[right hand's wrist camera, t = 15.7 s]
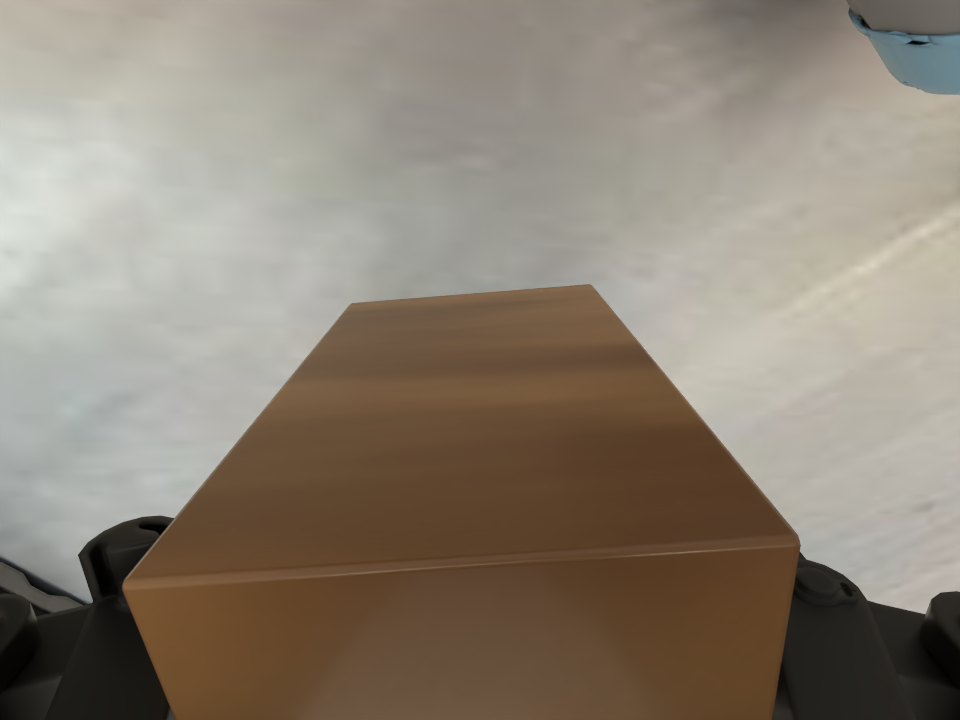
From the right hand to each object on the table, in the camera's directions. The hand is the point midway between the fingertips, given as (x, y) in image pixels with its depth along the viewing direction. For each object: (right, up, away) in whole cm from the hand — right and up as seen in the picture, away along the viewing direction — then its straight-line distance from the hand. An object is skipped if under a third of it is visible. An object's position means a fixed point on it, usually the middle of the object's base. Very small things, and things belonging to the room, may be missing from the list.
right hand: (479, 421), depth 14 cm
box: (+1, -8, +4) cm, 8 cm away
